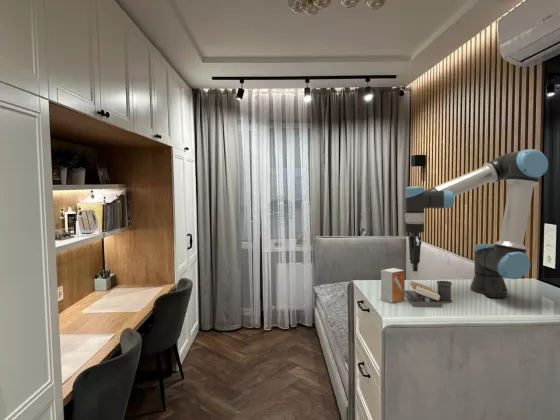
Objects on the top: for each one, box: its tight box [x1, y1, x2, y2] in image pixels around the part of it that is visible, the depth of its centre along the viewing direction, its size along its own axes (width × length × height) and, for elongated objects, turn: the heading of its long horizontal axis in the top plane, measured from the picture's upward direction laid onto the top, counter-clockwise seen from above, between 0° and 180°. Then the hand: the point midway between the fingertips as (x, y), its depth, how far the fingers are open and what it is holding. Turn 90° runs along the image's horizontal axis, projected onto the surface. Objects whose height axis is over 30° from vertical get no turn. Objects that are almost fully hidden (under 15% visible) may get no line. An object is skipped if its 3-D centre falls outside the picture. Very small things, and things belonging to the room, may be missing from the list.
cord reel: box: [436, 280, 453, 304], centre depth 158 cm, size 6×6×8 cm
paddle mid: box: [411, 283, 437, 293], centre depth 159 cm, size 9×3×2 cm, turn 83°
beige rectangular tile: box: [414, 286, 440, 301], centre depth 153 cm, size 9×3×2 cm, turn 83°
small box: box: [380, 267, 406, 304], centre depth 160 cm, size 8×6×13 cm
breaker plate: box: [404, 289, 443, 308], centre depth 159 cm, size 11×18×4 cm, turn 173°
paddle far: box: [408, 279, 433, 290], centre depth 165 cm, size 9×3×2 cm, turn 82°
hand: (414, 278), depth 159 cm, fingers closed
